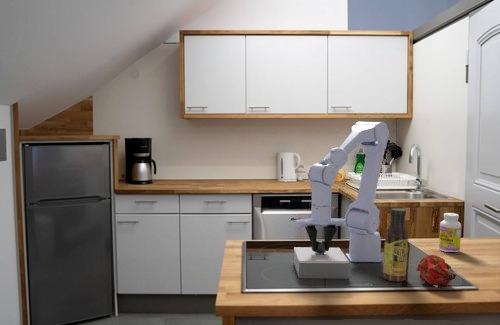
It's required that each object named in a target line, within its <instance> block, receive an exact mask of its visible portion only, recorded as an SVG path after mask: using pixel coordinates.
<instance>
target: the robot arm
mask: <svg viewBox="0 0 500 325" xmlns="http://www.w3.org/2000/svg"><path fill="white" fill-rule="evenodd" d="M387 125H388V124H386V123H385V121H356V123H355V124H354V125H353V126H352V127H351V132H350V133H349V135H348V136H347V137H346V138H345V140H344V141H343V142H342V143H341V145H340V146H339V147H334V148H333V147H332V148H330V150H329V152H328V153H327V154H326V156H324V157H323V158H322V159H321V160H320V161H319V163H315V164H312V165H311V167H310V168H309V170H308V173H307V178H308V181H309V183H310V184H309V187H310V188H311V212H310V214H311V215H310V217H311V218H302V219H301V218H300V219H296V220H295V227H296V228H298V229H299V228H300V229H301V228H305V230H306V233H307V235H308V238H309V240H310V241H309V242H310V245H311V246H310V247H312V250H313V251H314V252H316V240H318V239H317V238H318V236H317V235H318V230H317V227H323V232H324V239H323V240H324V241H326V251H329V248H331V244H332V240H333V238H334V236H335V235H336V233H337V232H338V231H337V230H338V228H337V227H347V230H348V231H349V244H348V245H349V246H348V247H349V253H345V256H346V258H347V259H348V261H349V262H352V263H357V262H358V263H366V262H367V263H381V249H382V246H381V245H382V239H381V235H380V232H378V231H377V230H378V229H379V226H380V209H379V208H378V207H377V206H376V205H375V197H376V193H377V192H376V191H377V190H378V189H377V188H378V184H379V179H380V173H381V169H382V165H383V159H384V155H385V150H387V145H388V142H389V141H388V140H389V136H390V130H389V128H388V126H387ZM359 146H360V147H361V148H362V149H364V151H365V152H366V155H365V158H364V159H365V160H364V164H363V170H362V173H361V178H360V182H359V183H360V184H359V187H358V193H357V197H356V200H354V201H352V202H351V203H350V204H349V205H348V209H347V211H346V213H345V215H344V218H332V193H333V192H332V189H333V188H332V186H333V184H334V183H336V180H337V176H338V174H339V171H340V170H341V169H342V168H343V167H344V166H345V164H346V163H347V162H348V161H349V155H350V154H351V153H353V151H354V150H356V149H357V148H358V147H359Z"/></svg>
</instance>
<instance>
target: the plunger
mask: <svg viewBox="0 0 500 325" xmlns="http://www.w3.org/2000/svg"><path fill="white" fill-rule="evenodd" d="M316 252H317V253H318V255H322V253H325V252H326V241H324V239H323V240H321V239H316Z"/></svg>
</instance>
